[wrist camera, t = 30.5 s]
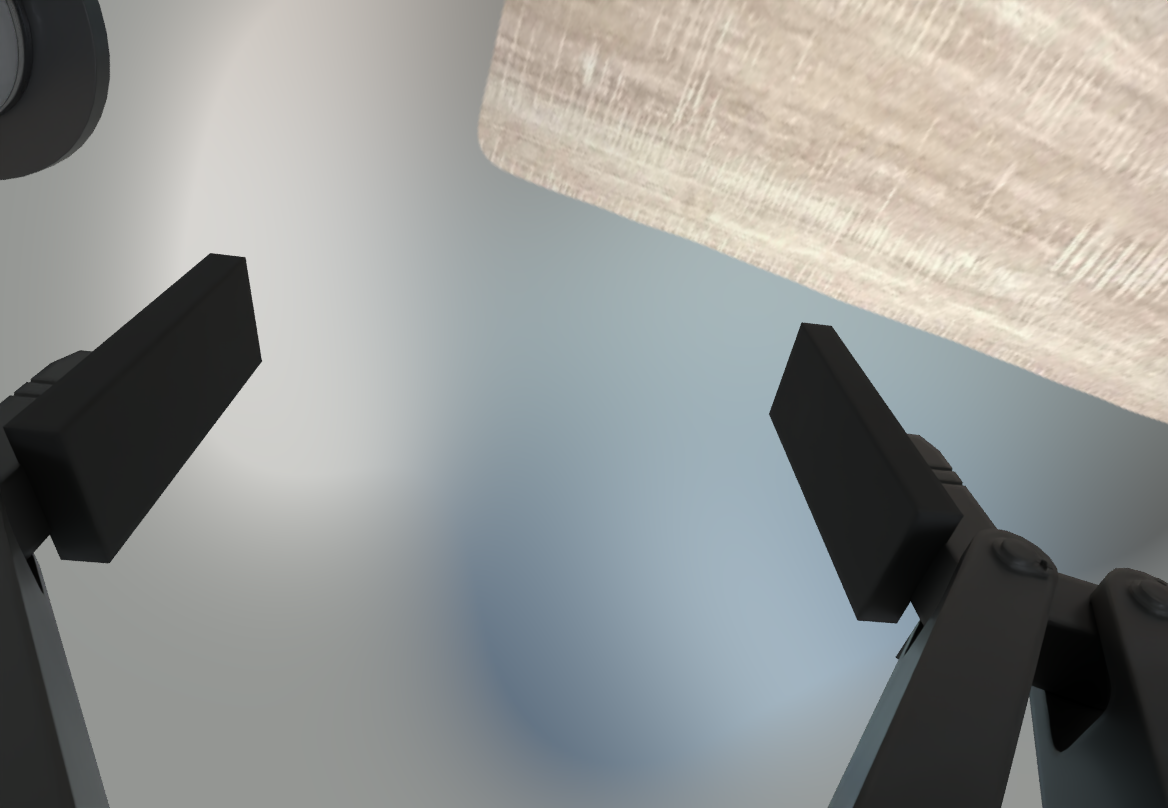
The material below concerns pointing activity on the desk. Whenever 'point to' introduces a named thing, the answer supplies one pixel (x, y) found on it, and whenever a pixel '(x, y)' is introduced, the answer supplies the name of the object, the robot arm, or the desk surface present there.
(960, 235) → the desk surface
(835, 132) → the desk surface
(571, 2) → the desk surface
